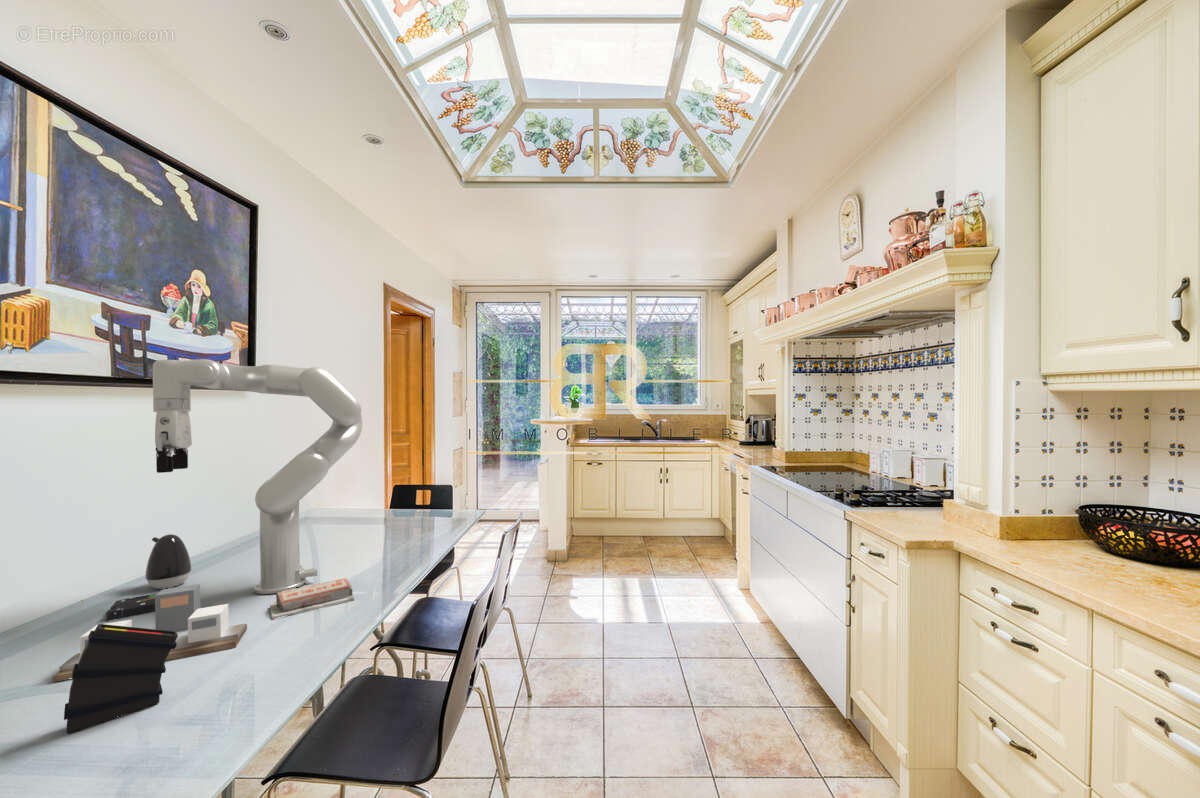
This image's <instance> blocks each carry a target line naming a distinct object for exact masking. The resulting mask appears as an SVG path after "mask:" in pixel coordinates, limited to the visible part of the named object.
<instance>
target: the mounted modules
mask: <svg viewBox="0 0 1200 798" xmlns="http://www.w3.org/2000/svg"><path fill="white" fill-rule="evenodd" d="M105 624H106V625H116V626H126V627H133V625H132V624H133V621H132V619H127V620H121V621H119V620H118V621H114V622H113V621H112V622H107V623H105ZM97 626H98V624H96V625H94V626H93V627H92V628H90V629H89V630H88V631H86V632H85V633H84V634H83V635H81V636H80V640H79V641H80V645H79V647H80V652H79V653H80V658H81V655H82V652H83V650H84V648H85V646H86V645H87V643H88V636H89V634H90V632H91V631H95V629H96V627H97ZM228 626H230V625H229V603H226V604H218V605H213V606H207V607H200V608H199V609H197V610H196V611H195V612H194V613H193V614H192V615H191V616H190V617H189V618H188V630H187V634H188V643H192V642H198V641H203V640H209V639H214V638H219V637H221V636H222V635H223V633H224V632H225V631H226V629H227V628H228Z"/></svg>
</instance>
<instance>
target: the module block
mask: <svg viewBox="0 0 1200 798" xmlns="http://www.w3.org/2000/svg"><path fill="white" fill-rule="evenodd" d="M157 593H158V594H156V593H155V594H156V595H155V613H154V616H155V618H154V620H155V621H154V622H155V624H154V625H155V627H154V629H156V630H166V631H175V632H177V633H178V632H184V631H188V618H189V617H190V616H191V615H192V614H193V613H194V612H195V611H196V610H197V609H199V608H201V583H197V584H192V585H183V586H176V587H172V588H168V589H160V591H159V592H157Z"/></svg>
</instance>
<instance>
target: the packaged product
mask: <svg viewBox="0 0 1200 798" xmlns="http://www.w3.org/2000/svg"><path fill="white" fill-rule="evenodd" d="M352 586H353V585H352V584H351V583H350V581H349V579H348V578H341V579H337V580H329V581H326V582H321V583H316V584H312V585H311V584H310V585H307V586H300V587H298V588H295V589H291V590H286V591H282V592H279V593H275V597H276V598H275V599H276V600H275V601H272V602H270V603H269V609H270V616H271V619H272V620H276V619H275V618H278V617H282V616H286V615H289V616H291V615H290V614H294V615H296V614H295V613H299V614H301V613H300V612H303V613H307V612H312V611H316V610H320V609H319V608H321V609H324V608H328V607H332V606H335V605H339V604H344V603H348V602H353V601H355V597H354V596H353V587H352ZM315 609H316V610H315ZM311 610H312V611H311ZM306 611H307V612H306ZM286 617H287V616H286ZM282 618H283V617H282ZM278 619H279V618H278Z"/></svg>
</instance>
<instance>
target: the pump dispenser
mask: <svg viewBox="0 0 1200 798" xmlns="http://www.w3.org/2000/svg"><path fill="white" fill-rule="evenodd" d="M151 541H152V542H154V546H153V547H152V549H151V552H150V554H149V557H148V560H147V564H146V569H145V578H144V579H145V580H146V581H147V583H148V585H149V586H150V587H152V588H153V589H155V590H163V589H164V588H168V589H169V588H170V587H172V588H175V587H174V586H176V587H179V586H180V585H182V584H184V582H186V581H187V580H188V578H189V576H190V573H191V571H192V562H191V557H190V554H189V551H188V549H187V547H186V545H185V543H184V541H183V540H182V539H181V538H180V537H179V535H176V534H170V533H169V534H166V535H163V536H161V537H160V538H158V537H157V536H155V537H154V536H153V537H152V538H151Z"/></svg>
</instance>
